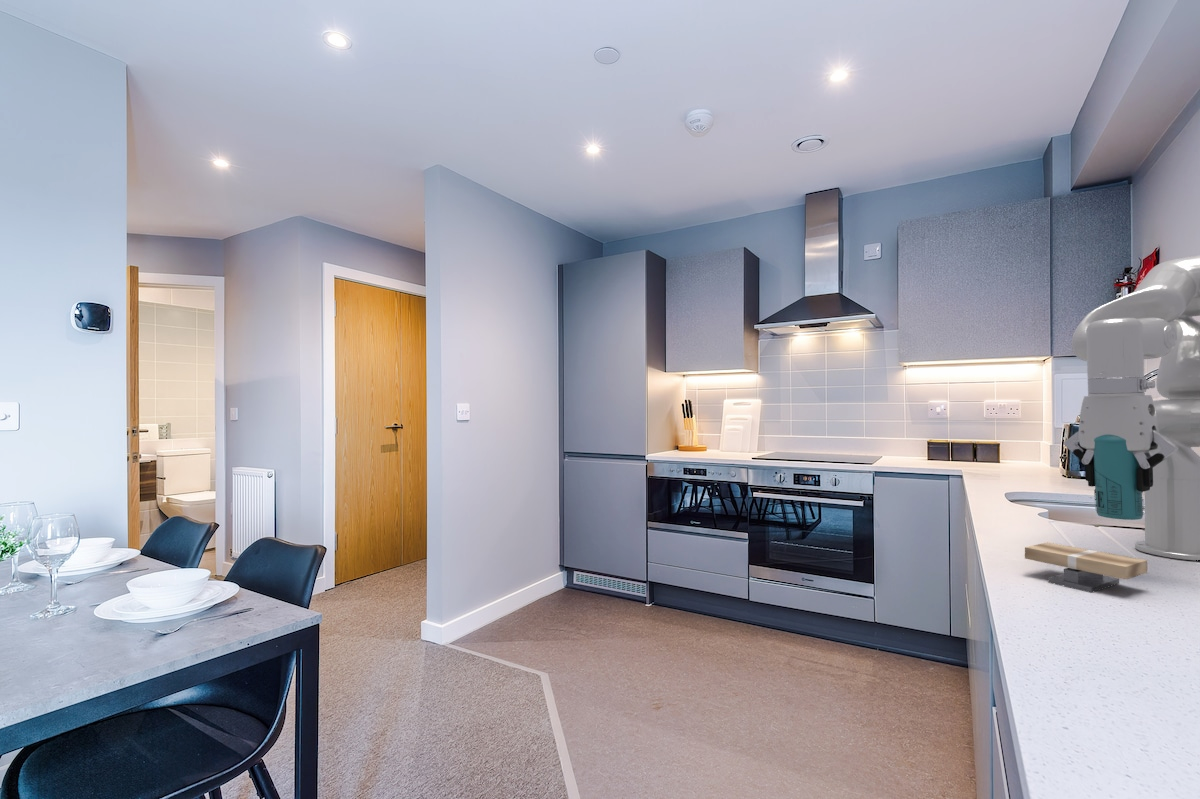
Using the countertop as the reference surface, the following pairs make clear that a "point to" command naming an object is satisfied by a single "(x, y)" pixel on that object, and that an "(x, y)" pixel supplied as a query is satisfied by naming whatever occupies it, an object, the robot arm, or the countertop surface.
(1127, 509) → the beverage bottle
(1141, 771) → the countertop surface
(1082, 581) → the fulcrum
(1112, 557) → the beam
